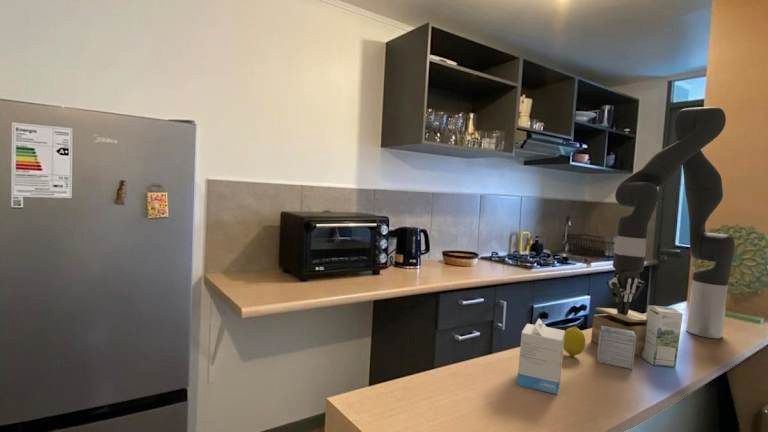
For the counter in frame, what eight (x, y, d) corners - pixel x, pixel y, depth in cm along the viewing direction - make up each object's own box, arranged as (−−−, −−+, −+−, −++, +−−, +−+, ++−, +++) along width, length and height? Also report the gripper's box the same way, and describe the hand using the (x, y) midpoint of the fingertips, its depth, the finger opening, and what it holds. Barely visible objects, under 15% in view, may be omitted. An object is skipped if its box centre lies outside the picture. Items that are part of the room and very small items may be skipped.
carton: (625, 338, 127) (627, 312, 127) (660, 352, 117) (663, 324, 117) (590, 341, 122) (593, 314, 122) (624, 356, 112) (628, 327, 111)
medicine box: (630, 363, 107) (634, 330, 107) (633, 370, 103) (636, 336, 103) (596, 356, 111) (599, 324, 110) (597, 362, 107) (600, 329, 106)
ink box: (557, 395, 87) (564, 333, 86) (516, 384, 91) (521, 324, 90) (560, 380, 95) (566, 322, 94) (522, 370, 99) (527, 315, 98)
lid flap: (628, 311, 126) (628, 309, 126) (662, 323, 117) (663, 320, 117) (595, 310, 121) (595, 307, 121) (628, 321, 112) (629, 319, 112)
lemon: (557, 355, 109) (560, 325, 109) (565, 350, 113) (568, 321, 113) (579, 362, 106) (582, 331, 105) (586, 357, 110) (589, 327, 109)
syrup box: (663, 359, 112) (669, 306, 111) (676, 368, 106) (683, 312, 105) (641, 356, 113) (647, 304, 112) (653, 366, 107) (659, 310, 106)
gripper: (633, 251, 123) (626, 309, 124) (600, 250, 118) (593, 310, 119) (658, 256, 116) (651, 317, 117) (624, 255, 111) (617, 319, 112)
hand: (622, 313), depth 118 cm, fingers closed
